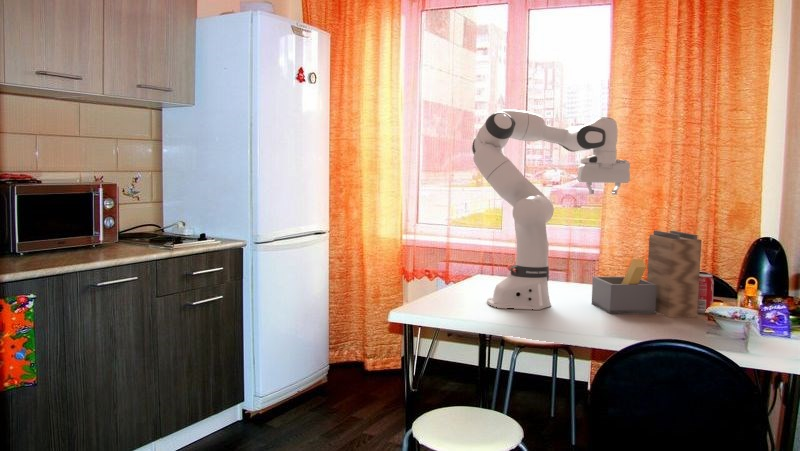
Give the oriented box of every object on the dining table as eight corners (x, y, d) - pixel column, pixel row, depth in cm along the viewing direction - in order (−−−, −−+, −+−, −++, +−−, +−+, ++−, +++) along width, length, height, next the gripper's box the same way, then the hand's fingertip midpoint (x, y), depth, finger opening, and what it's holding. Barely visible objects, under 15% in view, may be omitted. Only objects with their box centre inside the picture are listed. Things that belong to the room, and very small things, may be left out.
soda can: (714, 314, 217) (717, 277, 216) (692, 313, 219) (694, 275, 218) (709, 310, 224) (711, 273, 223) (687, 309, 226) (689, 272, 224)
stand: (668, 317, 212) (672, 235, 210) (645, 306, 228) (649, 230, 226) (696, 317, 213) (701, 235, 211) (672, 306, 229) (676, 230, 226)
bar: (636, 267, 210) (632, 259, 213) (617, 305, 224) (614, 297, 227) (646, 267, 210) (643, 259, 213) (627, 305, 224) (624, 297, 227)
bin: (609, 313, 215) (611, 284, 215) (591, 303, 231) (592, 276, 230) (655, 313, 217) (656, 284, 216) (634, 303, 233) (635, 276, 232)
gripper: (626, 159, 255) (624, 194, 256) (576, 158, 253) (575, 193, 254) (633, 159, 248) (631, 195, 250) (582, 158, 247) (581, 194, 248)
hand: (602, 194), depth 252 cm, fingers open, 8 cm apart
